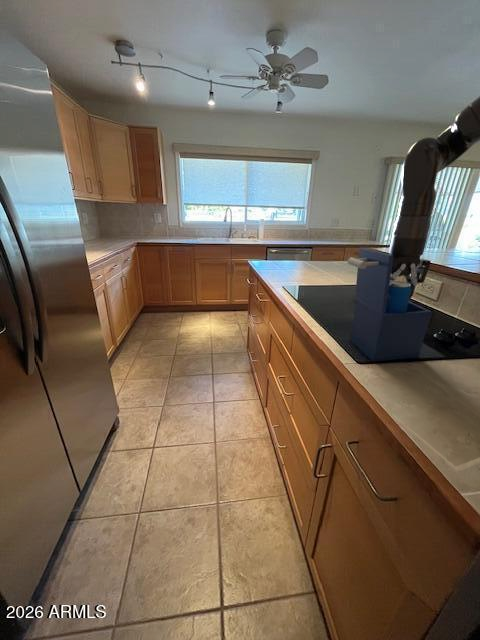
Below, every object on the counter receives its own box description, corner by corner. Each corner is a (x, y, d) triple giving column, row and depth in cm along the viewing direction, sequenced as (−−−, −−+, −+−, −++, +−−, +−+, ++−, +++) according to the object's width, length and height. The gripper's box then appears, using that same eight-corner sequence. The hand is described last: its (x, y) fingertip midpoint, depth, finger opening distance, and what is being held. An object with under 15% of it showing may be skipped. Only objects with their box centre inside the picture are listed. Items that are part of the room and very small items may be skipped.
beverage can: (371, 321, 76) (379, 281, 72) (388, 318, 78) (397, 279, 73) (389, 330, 71) (398, 288, 66) (407, 327, 72) (418, 285, 68)
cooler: (389, 336, 84) (398, 296, 79) (418, 357, 73) (431, 311, 67) (349, 340, 83) (356, 299, 77) (373, 361, 71) (383, 315, 66)
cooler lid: (362, 247, 71) (341, 250, 71) (393, 255, 60) (369, 258, 59) (358, 297, 77) (338, 299, 77) (385, 312, 66) (362, 316, 65)
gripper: (393, 237, 60) (379, 305, 67) (448, 235, 62) (429, 301, 69) (373, 234, 67) (362, 296, 74) (424, 232, 69) (408, 293, 76)
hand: (394, 298), depth 71 cm, fingers closed on beverage can, 6 cm apart
